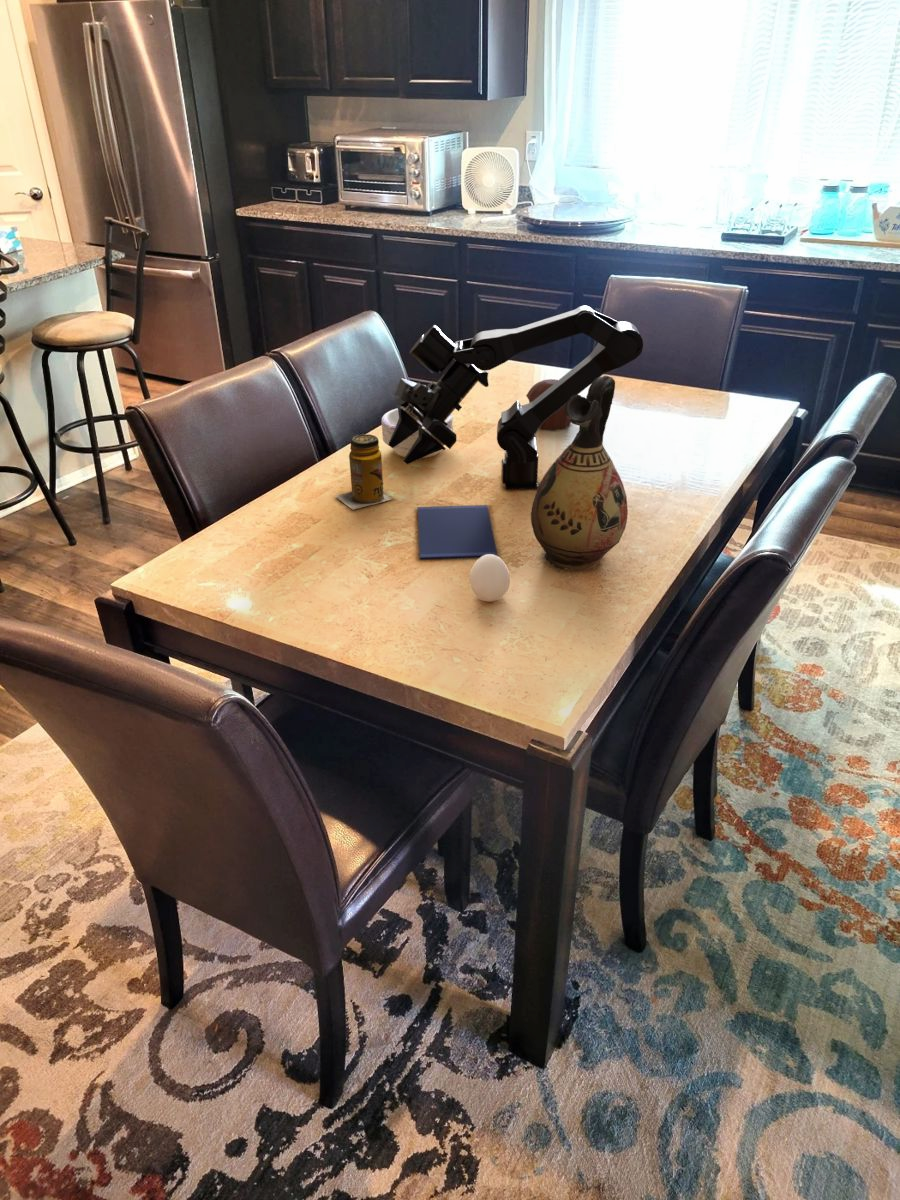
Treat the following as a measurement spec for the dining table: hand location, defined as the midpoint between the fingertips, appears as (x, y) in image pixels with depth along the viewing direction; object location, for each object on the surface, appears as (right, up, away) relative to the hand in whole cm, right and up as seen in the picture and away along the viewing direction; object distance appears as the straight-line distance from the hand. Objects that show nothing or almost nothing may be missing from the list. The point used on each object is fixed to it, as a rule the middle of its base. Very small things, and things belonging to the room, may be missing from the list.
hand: (397, 454), depth 161 cm
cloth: (+11, -16, -11) cm, 22 cm away
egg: (+16, -28, -31) cm, 44 cm away
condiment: (-7, -8, +2) cm, 11 cm away
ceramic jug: (+31, -20, -19) cm, 42 cm away
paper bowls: (+3, +4, +23) cm, 24 cm away
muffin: (+33, +13, +37) cm, 52 cm away
